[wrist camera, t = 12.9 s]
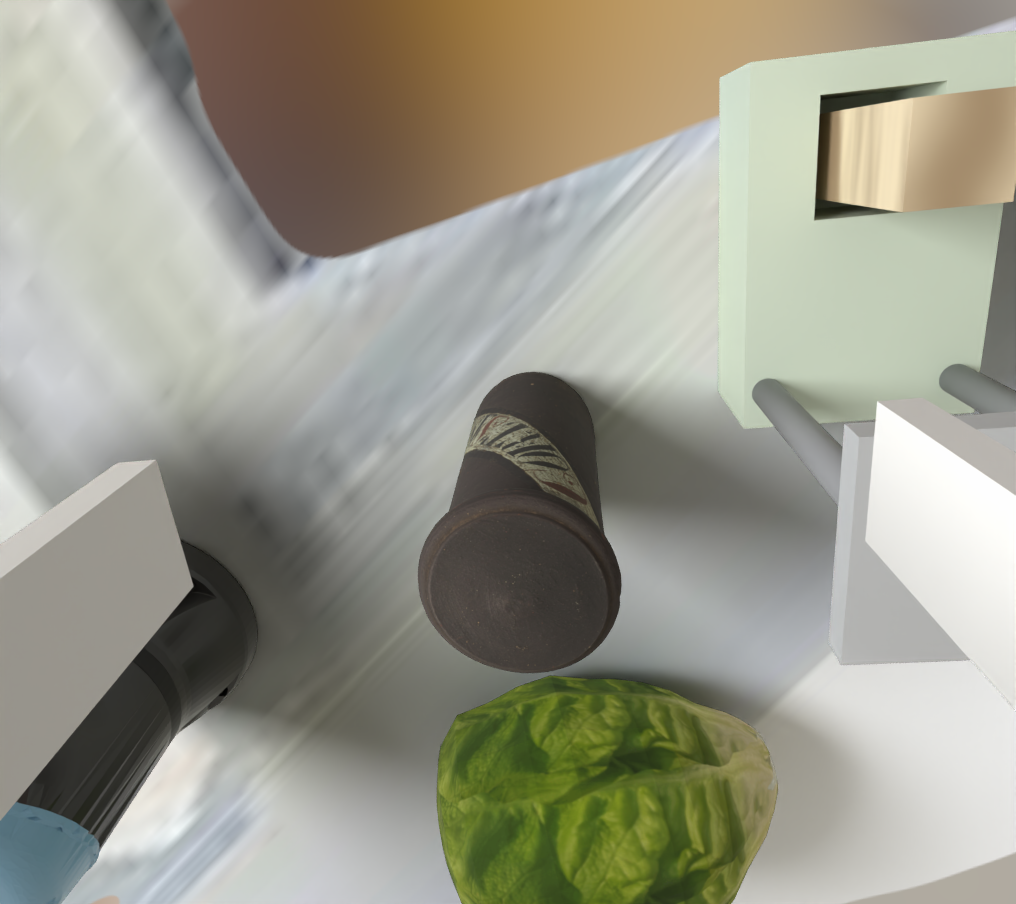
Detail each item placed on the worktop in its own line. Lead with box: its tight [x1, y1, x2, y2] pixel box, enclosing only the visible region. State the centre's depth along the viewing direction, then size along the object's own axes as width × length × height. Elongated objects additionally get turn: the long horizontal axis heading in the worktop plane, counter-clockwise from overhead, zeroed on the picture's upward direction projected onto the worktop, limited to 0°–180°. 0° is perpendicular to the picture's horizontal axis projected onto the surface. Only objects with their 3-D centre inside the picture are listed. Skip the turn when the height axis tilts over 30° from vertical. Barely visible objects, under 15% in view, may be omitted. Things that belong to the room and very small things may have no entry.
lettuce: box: [437, 676, 778, 904], centre depth 49 cm, size 18×23×19 cm
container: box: [418, 372, 621, 673], centre depth 39 cm, size 9×9×20 cm
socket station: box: [718, 31, 1016, 665], centre depth 31 cm, size 20×14×25 cm
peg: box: [815, 86, 1016, 212], centre depth 34 cm, size 4×4×14 cm
